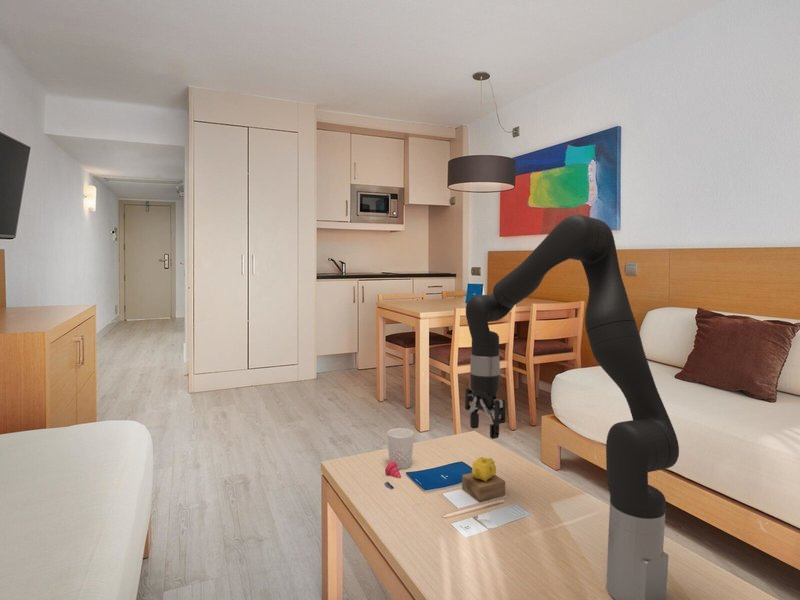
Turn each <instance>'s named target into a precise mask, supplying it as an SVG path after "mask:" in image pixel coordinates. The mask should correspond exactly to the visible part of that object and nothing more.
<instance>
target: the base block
mask: <svg viewBox="0 0 800 600" xmlns="http://www.w3.org/2000/svg"><path fill="white" fill-rule="evenodd" d="M461 489H462V490H464V491H465V492H466V493H468V494H469V495H470V496H471V497H473V498H474V499H475V500H477V501H478V502H479V503H481V502H484V503H486V502H485V501H488V500H492V499H495V500H497V499H496V498H499V497H503V496H506V481H505V480H504V479H502V478H501V477H500V476H498V475H497V474H494V476H492V478H491V479H488V480H487V482H484V481H483V480H481V479H475V477H473V476H472V472H469V473H465V474H464V473H463V474H462V475H461ZM462 490H461V491H462ZM465 492H464V493H465ZM466 493H465V494H466ZM469 495H468V496H469ZM470 496H469V497H470ZM471 497H470V498H471ZM503 498H504V497H503ZM474 499H473V500H474ZM499 499H500V498H499ZM475 500H474V501H475ZM492 501H493V500H492ZM478 502H477V503H478ZM488 502H489V501H488ZM479 503H478V504H479ZM481 504H482V503H481Z"/></svg>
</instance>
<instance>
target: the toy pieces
mask: <svg viewBox="0 0 800 600" xmlns="http://www.w3.org/2000/svg"><path fill="white" fill-rule="evenodd" d="M385 475H386V476H388V477H393V478H396V479H401V478H402V475H401V472H400V469H398V468H397V463H396V462H393V461H392V462H390V463H389V462H388V463H387V465H386V467H385ZM384 486H385V487H386V488H388V489H389V490H393V489H395V487H394V486H393V485H392V484H391V483H390V482H389V481H386V482H384Z"/></svg>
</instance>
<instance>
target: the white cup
mask: <svg viewBox="0 0 800 600" xmlns="http://www.w3.org/2000/svg"><path fill="white" fill-rule="evenodd" d="M414 434H415V432H414V431H413V430H411V429H410V428H405V427H404V428H402V427H401V428H400V427H397V428H396V427H395V428H392V429H389V430H388V431H387V450H388V459H389V460H388V461H389V462H388V463H390V462H392V461H393V462H396V463H397V468H398V469H399V470H403V469H405V470H406V469H408V468H411V466H412V464H413V454H414V452H413V450H414V449H413V448H414Z"/></svg>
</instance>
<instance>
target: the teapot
mask: <svg viewBox="0 0 800 600" xmlns="http://www.w3.org/2000/svg"><path fill="white" fill-rule="evenodd" d="M471 473H472V476H473V477H475V479H481V480H483V481H484V482H487V480H488V479H491V478H492V476H494V474H495V475H497V466H496V465H495V460H493V458H491V457H489V458H486V457H484V456H483V457H479V458H477V459H476V460H474V461H473V462H472V469H471Z"/></svg>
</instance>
